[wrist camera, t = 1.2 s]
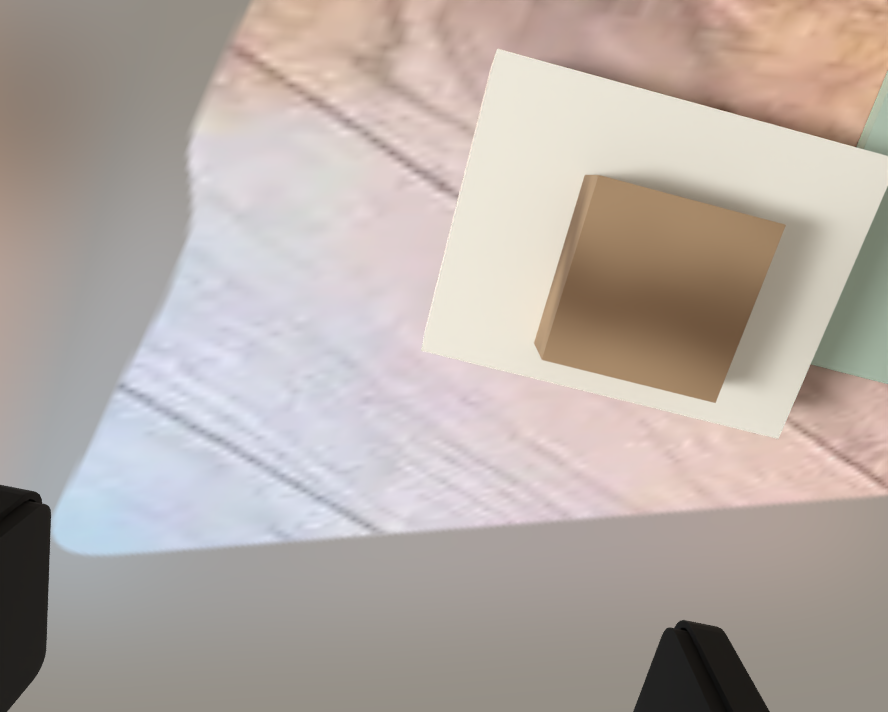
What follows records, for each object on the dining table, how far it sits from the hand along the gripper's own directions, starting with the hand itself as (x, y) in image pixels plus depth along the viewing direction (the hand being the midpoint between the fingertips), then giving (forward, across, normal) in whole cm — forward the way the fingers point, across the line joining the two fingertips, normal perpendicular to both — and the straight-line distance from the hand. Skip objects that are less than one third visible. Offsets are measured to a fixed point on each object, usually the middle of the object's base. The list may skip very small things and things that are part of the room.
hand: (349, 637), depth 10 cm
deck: (+22, -8, -5) cm, 24 cm away
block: (+18, -8, -4) cm, 20 cm away
